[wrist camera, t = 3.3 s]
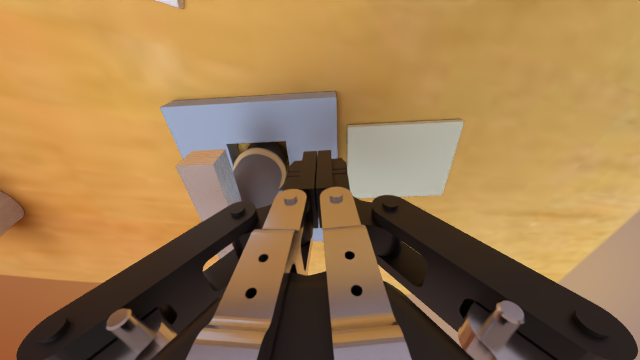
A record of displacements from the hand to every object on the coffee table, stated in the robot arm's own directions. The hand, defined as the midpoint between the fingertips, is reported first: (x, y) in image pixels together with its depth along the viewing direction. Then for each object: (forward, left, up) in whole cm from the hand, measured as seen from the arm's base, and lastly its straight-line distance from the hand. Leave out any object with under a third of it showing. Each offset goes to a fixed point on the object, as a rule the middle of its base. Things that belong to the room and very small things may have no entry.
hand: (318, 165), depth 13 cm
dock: (+6, +6, -9) cm, 12 cm away
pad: (-7, +5, -9) cm, 13 cm away
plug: (+6, +4, -9) cm, 11 cm away
